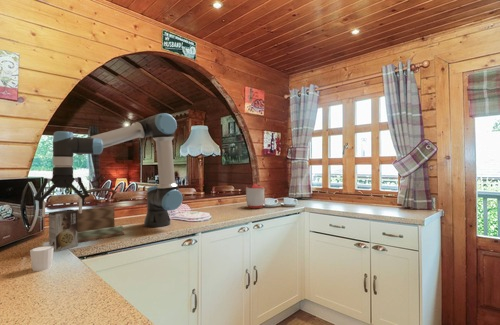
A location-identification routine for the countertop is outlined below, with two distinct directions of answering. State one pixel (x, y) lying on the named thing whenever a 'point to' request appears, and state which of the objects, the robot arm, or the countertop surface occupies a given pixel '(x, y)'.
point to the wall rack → (97, 224)
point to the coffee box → (63, 229)
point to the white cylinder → (41, 258)
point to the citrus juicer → (255, 196)
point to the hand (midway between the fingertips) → (62, 214)
